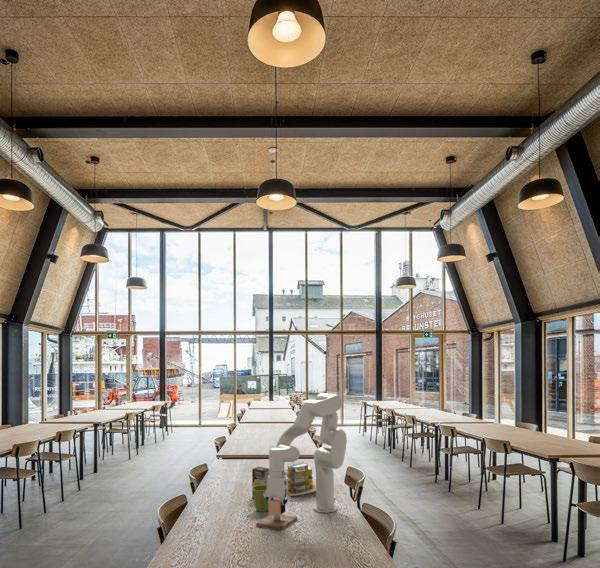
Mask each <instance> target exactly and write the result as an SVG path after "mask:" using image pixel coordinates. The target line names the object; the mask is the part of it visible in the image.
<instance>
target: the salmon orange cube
mask: <svg viewBox="0 0 600 568" xmlns="http://www.w3.org/2000/svg"><path fill="white" fill-rule="evenodd" d="M281 505H282V504H281V501H280V499H277V498H273V499H272V500H270V501H269V510H268V515H270V514H271V515H278V516H280V515H281ZM284 513H286V511H285V512H284ZM284 513H283V514H284Z"/></svg>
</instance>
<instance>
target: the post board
mask: <svg viewBox="0 0 600 568" xmlns="http://www.w3.org/2000/svg"><path fill="white" fill-rule="evenodd" d="M297 521H298V516H294V515H293V516H292V515H288V514H281V515H280V516H278V515H271V514H268V515H267V516H266V517H264V518H261V519H260V520H259V521H257V522H256V523H255V525H256V526H255V527H258V528H263V529H270V530H275V531H276V530H277V531H281V532H282V531H283V530H285V529H286V528H288V527H289V526H291V525H292V524H294V523H296V522H297Z"/></svg>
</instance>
